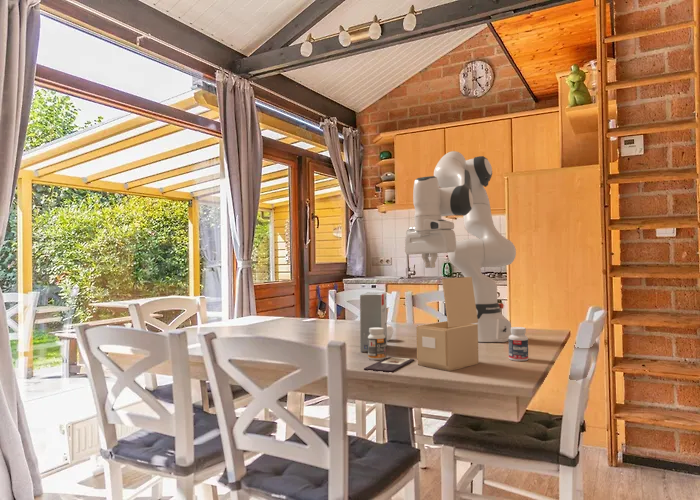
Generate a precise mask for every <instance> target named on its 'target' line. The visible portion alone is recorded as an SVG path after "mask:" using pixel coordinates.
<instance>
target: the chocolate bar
mask: <svg viewBox="0 0 700 500" xmlns="http://www.w3.org/2000/svg"><path fill="white" fill-rule="evenodd" d="M413 362H415V358H402V357H391V356H388V357H386V358H385V359H383V360H378V361H377V362H375V363H372V364H371V365H368V366H366V367H363V371H368V370H373V371H372V372H378V371H383V372H382V373H389V372H393V373H394V371H395V372H397V371H399V370H400V369H402V368H404V367H406V366H408V365H409V364H411V363H413Z"/></svg>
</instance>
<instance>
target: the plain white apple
mask: <svg viewBox="0 0 700 500" xmlns="http://www.w3.org/2000/svg"><path fill="white" fill-rule="evenodd" d="M393 335H394V328H393V326H392V325H391V324H387V342H388V341H390V340H391V338H392V337H393Z"/></svg>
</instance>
